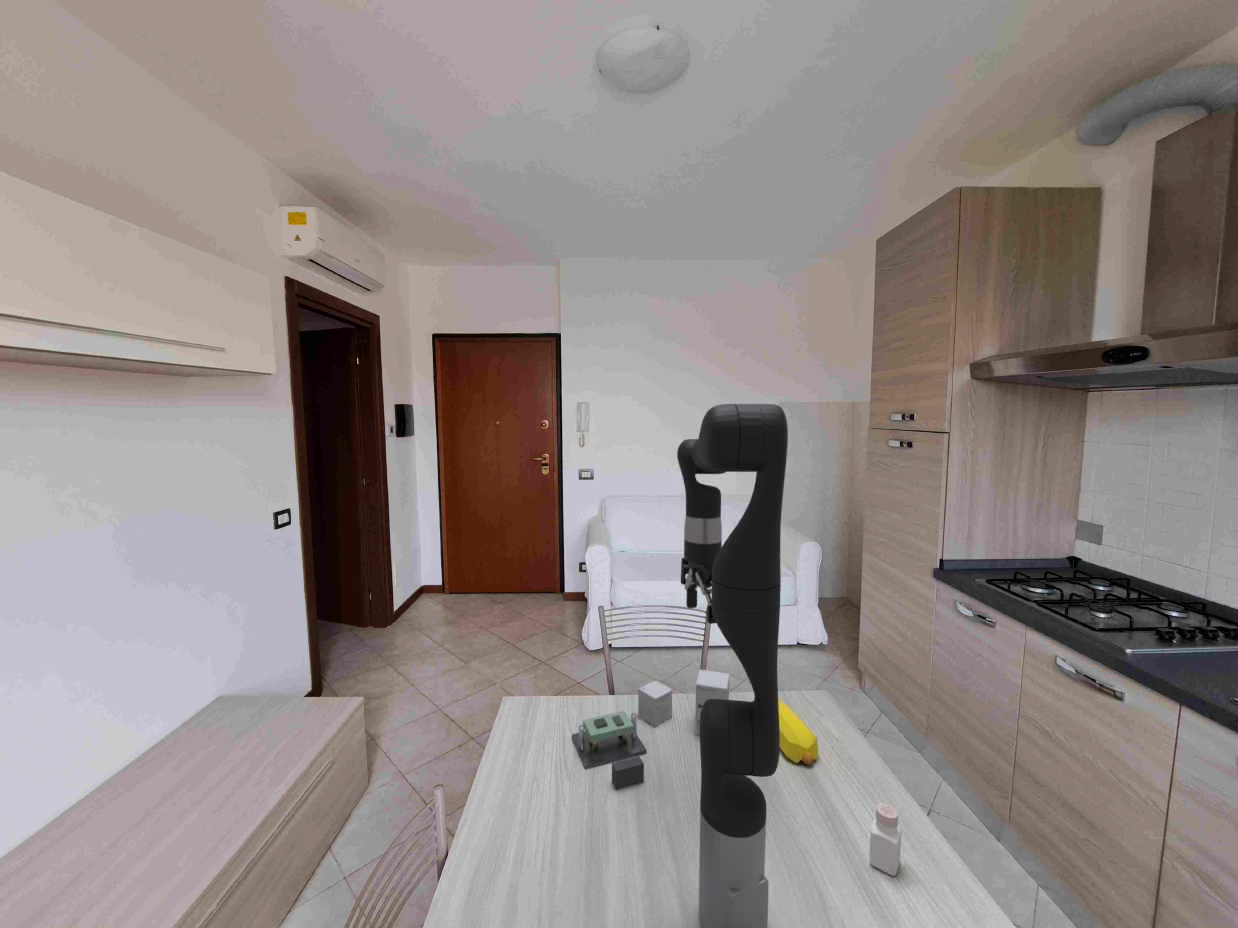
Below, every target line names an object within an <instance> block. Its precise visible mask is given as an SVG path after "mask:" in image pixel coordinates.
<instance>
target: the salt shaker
mask: <svg viewBox="0 0 1238 928" xmlns="http://www.w3.org/2000/svg"><path fill="white" fill-rule="evenodd" d="M875 807H876V808H875V818H874V820H873V822H872V825H871V828H870V837H869V854H868V855H869V858H868V860H869V864H870V865H871V866H873V867H874V868H876V869H878V870H880V871H881V872H883V873H886V874H887V875H890V876H892V877H895V876H896V875H897V873H898V869H899V866H900V862H901V847H902V846H901V845H902V829H901V828H900V827H899V811H898V810H897V809H896V808H895V807H894V806H893V805H890V804H888V803H886V802H880V803H878V804H877V805H876V806H875Z"/></svg>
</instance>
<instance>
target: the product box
mask: <svg viewBox="0 0 1238 928" xmlns="http://www.w3.org/2000/svg"><path fill="white" fill-rule="evenodd" d="M637 693H638V699H637V700H638V701H637V703H638V704H637V710H638V712H637V717H639V718H640V719H641V720H644V721H645V722H646V723H648V724H650V725H652V726H653V727H654V728H655V727H657V726H659V725H661V724H662V723H665V722H666V721H668V720H670V719H672V717H673V690H672V688H670V687H668V686H666V685H665V684H664V683H663V684H662V683H661V682H659V681H657V680H654V681H652V682H649V683H647V684H645V685H643V686H641V687H639V688H638V692H637Z"/></svg>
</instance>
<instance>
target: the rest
mask: <svg viewBox="0 0 1238 928" xmlns="http://www.w3.org/2000/svg"><path fill="white" fill-rule="evenodd" d="M644 766H645V764H644V762H643V760H642V758H641V757H640V755H638V756H635V757H631V758H627V759H623V760H619V761H615V762H612V763H611V783H612V786H613V787H614V789H615V790H616V791H617V790H622V789H624V788H628V787H633V786H636V785H639V784H642V783H644V782H645V767H644Z"/></svg>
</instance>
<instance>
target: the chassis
mask: <svg viewBox="0 0 1238 928" xmlns="http://www.w3.org/2000/svg"><path fill="white" fill-rule="evenodd" d="M630 717H631V718H630V720H631V722H632V723H633V725H634V732H633V733H629V734H625V735H621V736H617V737H613V738H609V739H605V740H601V741H597V742H592V743H591V742H590V740H589V738H588V736H587V734H586V732H585V729H584V726H583V724H582V725H579V726H578V732H576V733H573V734H571V739H572V741H573V744H574V746H575V749H576V751H577V753H578V755H579V758H580V760H581V762H582V764H583V768H584V769H585V770H588V769H592V768H595V767H599V766H600V767H601V766H604V765H607V764H612V763H615V762H619V761H622V760H626V759H630V758H634V757H638V756H642V755H645V754H647V748H646V747H645V745H644V744H643V742H642V740H641V739H640V737H639V736H638V734H637V713H631V715H630Z"/></svg>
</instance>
